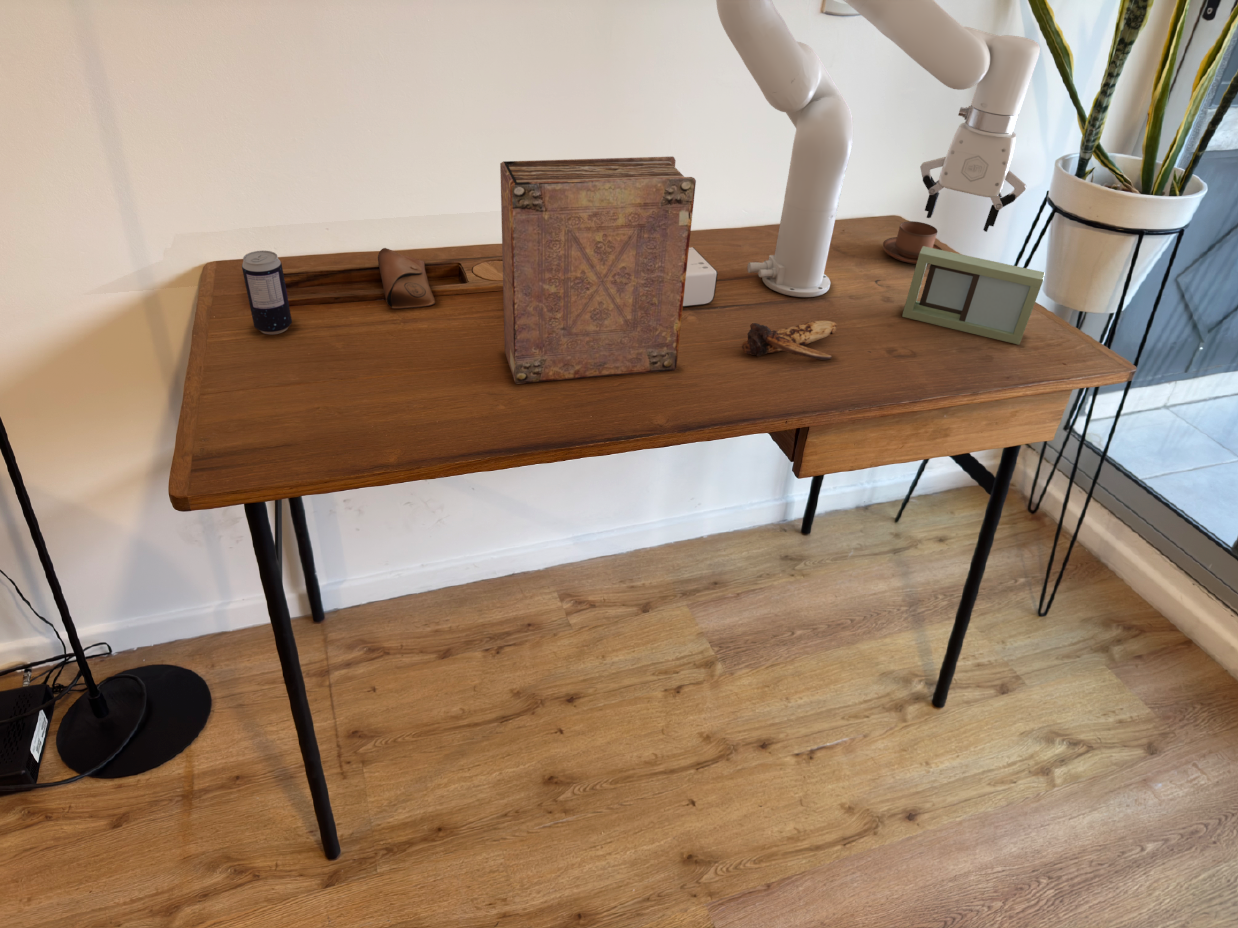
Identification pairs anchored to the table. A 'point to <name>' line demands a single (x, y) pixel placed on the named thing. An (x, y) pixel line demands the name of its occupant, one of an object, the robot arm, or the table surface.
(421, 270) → the sunglasses case
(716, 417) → the table surface
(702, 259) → the laminator
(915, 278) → the window frame
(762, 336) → the bone fish hook
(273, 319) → the beverage can
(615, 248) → the book
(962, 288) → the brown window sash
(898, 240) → the cup and saucer
